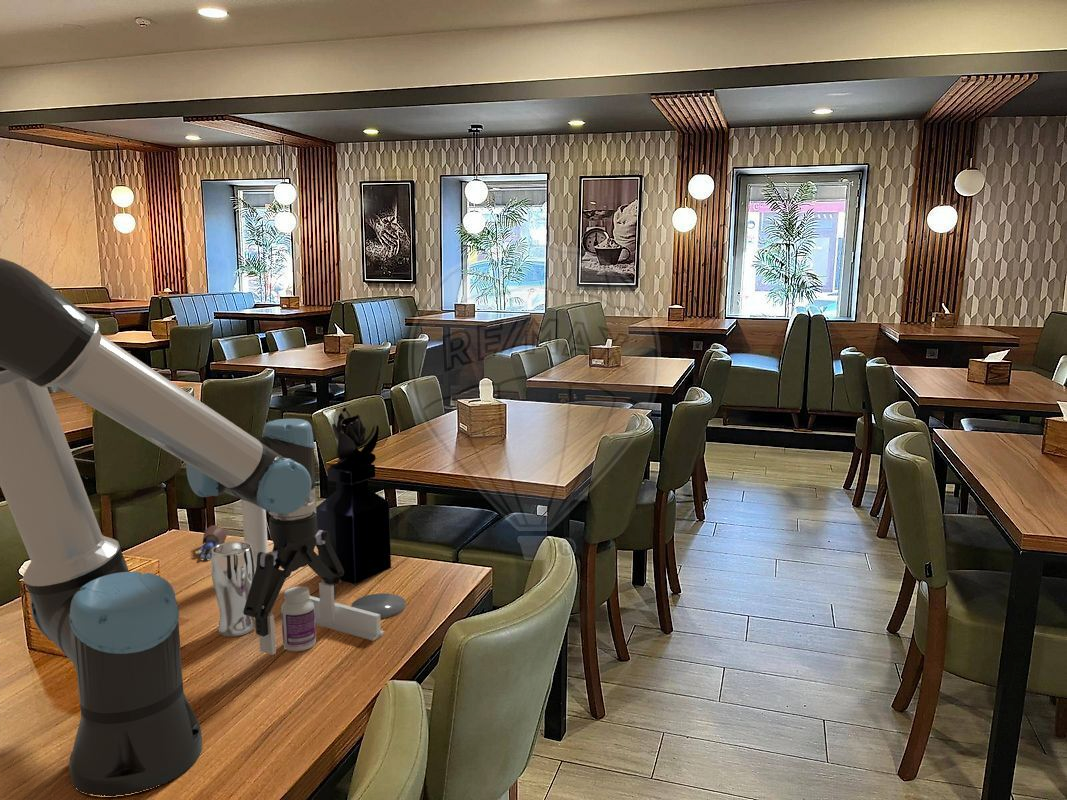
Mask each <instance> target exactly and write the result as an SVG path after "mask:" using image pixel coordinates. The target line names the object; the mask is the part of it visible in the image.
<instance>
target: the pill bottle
mask: <svg viewBox="0 0 1067 800" xmlns="http://www.w3.org/2000/svg"><path fill="white" fill-rule="evenodd" d="M309 596H311V595H310V589H309V588H308V587H307V586H294V587H289V588H288V589H286V590H285V591H284V596H283V597H284V603H283V604H282V606H281V608H280V613H281V631H282V634H281V635H282V643H283V648H284V649H285V650H286V651H289V652H302V651H306V650H308V649H311V648H312V647H314V646H315V645H316V642H317V639H316V638H317V637H316V635H317V634H316V624H315V612H314V603H313V601H312V600H310V599H309Z"/></svg>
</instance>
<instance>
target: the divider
mask: <svg viewBox="0 0 1067 800" xmlns="http://www.w3.org/2000/svg"><path fill="white" fill-rule="evenodd" d="M309 599H310V600H312V601H313V603H314V612H315V626H316V625H317V626H321V627H324V628H327V629H330V630H332V631H333V630H334V631H337V632H340V633H345V634H348V635H351V636H355V637H358V638H362V639H365V640H368V641H373V642H375V641H376V640H377V639H379V638H381V637H382V636H384V635H385V633H386V632H385V630H383V629H382V628H381V627H382V626H381V624H382V623H381V622H382V621H381V619H380V614H377V613H373V612H369V611H365V610H362V609H358V608H354V607H351V606H350V605H346V604H342V603H339V602H335V601H334V603H335V620H334V621H333V622H331V621H328V620H324V619H321V615H320V597H316V596H314V595H313V596H312V595H310V596H309Z"/></svg>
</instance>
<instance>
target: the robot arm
mask: <svg viewBox="0 0 1067 800" xmlns="http://www.w3.org/2000/svg"><path fill="white" fill-rule="evenodd" d="M49 387H58V388H59V389H60V390H63V391H65V392H66V393H68V394H69V395H72V396H73V397H75V398H77V399H78V400H80V401H82V402H83V403H85V404H87V405H88V406H90V407H91V408H93V409H95V410H97V411H98V412H100V413H101V414H103V415H105V416H107V417H108V418H109V419H112V420H114V421H115V422H116V423H119V424H120V425H122V426H123V427H125V428H127V429H128V430H130V431H132V432H133V433H135V434H137V435H138V436H140V437H142V438H143V439H145V440H146V441H149V442H151V443H152V444H154V445H156V447H159V448H160V449H162V450H164V451H165V452H167V453H169V454H170V455H172V456H174V457H176V458H177V459H179V460H180V461H182V462H184V463H185V464H186V466H185V469H186V476H187V481H188V484H189V487H190V488H191V490H192V492H193V493H194V494H195V495H196V496H198V497H201V498H207V497H212V496H213V497H219V496H220V495H224V494H228V495H229V496H230V495H231V496H233V497H235V498H236V499H240V500H241V501H242V500H245V501H248V502H250V503H252V504H254V505H257V506H259V507H261V508H263V509H265V510H266V512H268V514H269V515H270V517H269V518H268V524H269V537H270V539H271V541H272V542H273V547H272V550H271V551H268V553H263V552H259V553H258V555H257V568H256V571H255V574H254V578H253V581H252V584H251V588H250V591H249V594H248V598H247V601H246V604H245V608H244V611H243V613H244V615H247V616H250V617H254V621H255V633H256V635H257V636H258V637H259V639H258V640H259V651H260V652H262V653H265V654H268V655H271V656H273V655H275V654H277V651H276V632H275V617H274V616H275V615H274V614H272V613H271V611H272V609H273V607H274V604H275V603H276V601H277V598H278V596H279V594H280V593H281V590H282V588H283V586H284V583H285V582H286V579H287V578H289V577H290V576H291V575H292V572H296V571H298V570H299V569H300V568H304V567H307V566H308V567H309V568H310V569H311V570H312V571H313V572H314V573H315V574H316V575H317V576H318V577H319V578H320V579H321V580H322V582H319V584H318V589H319V590H318V591H319V598H320V615H321V619H324V620H328V621H331V622H333V621H334V620H335V603H336V602H335V600H336V598H337V592H336V591H337V588H336V587H337V585H339V584H340V583H341V582H342V581H341V578H339V576H343V575H344V569H343V567H342V565H341V563H340V561H339V559H338V557H337V555H336V553H335V551H334V549H333V547H332V545H331V543H330V536H329V532H327V531H322V530H318V528H317V514H316V507H317V496H316V495H317V494H316V493H317V492H316V473H315V472H316V471H315V470H316V469H315V441H314V433H313V426H312V424H311V423H310V422H309V421H308V420H305V419H301V418H281V419H274V420H270V421H267V422H266V423H265V424H264V426H263V432H262V436H259V437H255V436H253V435H251V434H250V433H248V432H246V431H245V430H243V428H241V427H239V426H237V425H236V424H235V423H233V422H232V421H230V420H229V419H227V418H226V417H224V416H223V415H221V414H220V413H219V412H217V411H216V410H214V409H212V407H209V405H207V404H205V403H203V402H202V401H200V400H199V399H198V398H197V397H195V396H193V395H192V394H190V393H189V392H187V390H184V389H183V388H181V387H180V386H179V385H177V384H176V383H174V382H172V380H169V379H168V378H166V377H165V376H163V375H162V374H160V373H159V372H158V371H156V370H154V369H153V368H152V367H150V366H149V365H147V364H146V363H145V362H143V361H142V360H140V359H138V358H137V357H136V356H134V355H133V354H131V353H129V352H127V351H126V350H125V349H124V348H122V347H121V346H119V345H118V344H116V343H114V342H113V341H112V340H110V339H109V338H107V337H106V336H104V335H102V333H101V332H100V326H99V322H98V320H96V319H95V318H93V317H92V316H91V315H89V314H87V313H86V312H85V311H83V310H82V309H81V308H79V307H78V306H77V305H75V304H74V303H73V302H71V301H70V300H69V299H68V298H66V297H65V296H64V295H62V294H61V293H60V292H59V291H57V290H55V288H53V287H52V286H51V285H49V284H48V283H47V282H45V281H44V280H42V279H41V278H40V277H38V276H37V275H36V274H35V273H34V272H32V271H30V270H29V269H27V268H25V267H24V266H22V265H20V264H18V263H15V262H14V261H11V260H8V259H5V258H2V257H0V488H1V492H2V493H3V496H4V498H5V500H6V503H7V506H8V508H9V511H10V513H11V515H12V518H13V520H14V523H15V525H16V528H17V530H18V533H19V535H20V537H21V540H22V542H23V544H24V548H25V549H26V552H27V555H28V557H29V560H30V563H29V564H28V567H27V568H26V569H25V571H24V573H23V575H22V579H23V582H24V584H25V587H26V588H27V591H28V594H29V596H30V609H31V610H30V611H31V615H32V619H33V622H34V623H35V625H36V627H37V628H38V630H39V631H40V632H41V634H42V635H44V636H45V637H46V638H47V639H48V640H49V641H51V642H52V643H53V644H54V645H55V646H56V647H57V648H59V651H61V652H62V653H63V654H64V655H65V657H66V658H67V659H68V660H70V662H71V663H72V664H73V665H74V668H75V671H76V673H75V674H76V679H77V680H76V681H77V688H78V689H77V690H78V698H79V707H80V720H79V722H78V723H79V724H78V727H77V730H76V734H75V740H74V743H73V747H72V751H71V753H70V757H69V764H68V765H69V776H70V783H71V782H72V783H71V785H72V784H73V785H74V786H75V788H77V789H78V790H79V791H81V792H84V793H87V794H93V795H100V796H101V795H102V796H104V795H105V796H116V795H125V794H131V793H135V792H140V791H143V790H146V789H150V788H153V787H156V786H158V785H161V784H163V783H165V784H167V783H169V782H171V781H173V780H175V779H176V778H178V777H179V776H181V775H182V774H183V773H185V772H186V771H187V770H189V769H190V768H191V767H192V766H193V765H194V764H195V763H196V761H197V760H198V759H199V757H200V755H201V753H202V751H203V736H202V728H201V724H200V723H199V721H198V719H197V717H196V713H194V710H193V708H192V706H191V704H190V702H189V700H188V699H187V696H186V694H185V692H184V691H185V690H184V681H183V667H182V665H183V664H182V654H181V653H182V652H181V638H180V636H181V635H180V623H179V617H180V608H179V606H178V600H177V598H176V593H175V589H174V587H173V585H172V584H171V583H170V582H169V581H168V580H166V579H165V578H163V577H162V576H160V575H157V574H154V573H150V572H146V573H142V572H141V571H130V570H129V568H128V565H127V562H126V559H125V557H124V555H123V552H122V549H121V546H120V542H119V541H118V540H117V539H114V538H112V537H108V536H105V535H103V534H102V530H101V529H100V526H99V524H98V520H97V518H96V515H95V513H94V510H93V507H92V504H91V502H90V499H89V497H88V494H87V491H86V488H85V486H84V482H83V480H82V478H81V474H80V472H79V470H78V467H77V464H76V460H75V458H74V456H73V453H72V450H71V448H70V446H69V443H68V440H67V437H66V435H65V432H64V429H63V426H62V423H61V421H60V419H59V415H58V413H57V410H56V408H55V405H54V401H53V400H52V397H51V394H50V392H49ZM315 548H317V552H318V551H319V553H320V555H321V557H322V559H323V561H324V563H325V564H324V563H323V562H322V561H321V560H320V557H319V556H318V553H316V552H315ZM280 568H281V569H280ZM282 569H283V570H282ZM323 581H324V582H323ZM334 602H335V603H334ZM175 777H176V778H175ZM174 778H175V779H174ZM172 779H173V780H172ZM170 780H171V781H170ZM168 781H169V782H168ZM166 782H167V783H166ZM73 785H72V786H73ZM163 785H164V784H163ZM74 786H73V787H74ZM161 786H162V785H161ZM75 788H74V789H75ZM156 788H157V787H156ZM78 790H77V791H78ZM79 791H78V792H79ZM81 792H80V793H81Z"/></svg>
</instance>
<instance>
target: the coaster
mask: <svg viewBox="0 0 1067 800" xmlns="http://www.w3.org/2000/svg"><path fill="white" fill-rule="evenodd" d="M406 603H407V602H406V599H405V598H404V597H402V596H401V595H398V594H394V593H385V592H384V593H373V594H369V595H364V596H362V597H359V598H357V599H355V600H354V601H353V602H352V604H351V606H350V607H354V608H358V609H362V610H365V611H369V612H373V613H377V614H380V620H381V619H386V618H391V617H394V616H397V615H398V614H401V613H402V612H403V611H404V610H405V608H406Z"/></svg>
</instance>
